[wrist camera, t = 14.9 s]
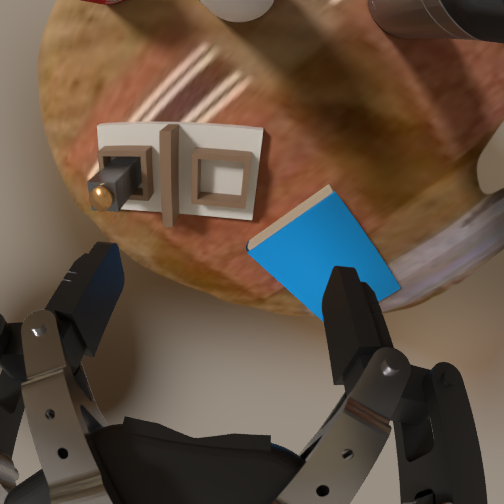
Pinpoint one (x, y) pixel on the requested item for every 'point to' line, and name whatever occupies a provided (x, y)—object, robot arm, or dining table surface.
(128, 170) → the peg
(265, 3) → the alcohol
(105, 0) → the soda can
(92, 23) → the dining table surface
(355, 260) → the book
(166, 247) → the dining table surface
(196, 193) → the plate
